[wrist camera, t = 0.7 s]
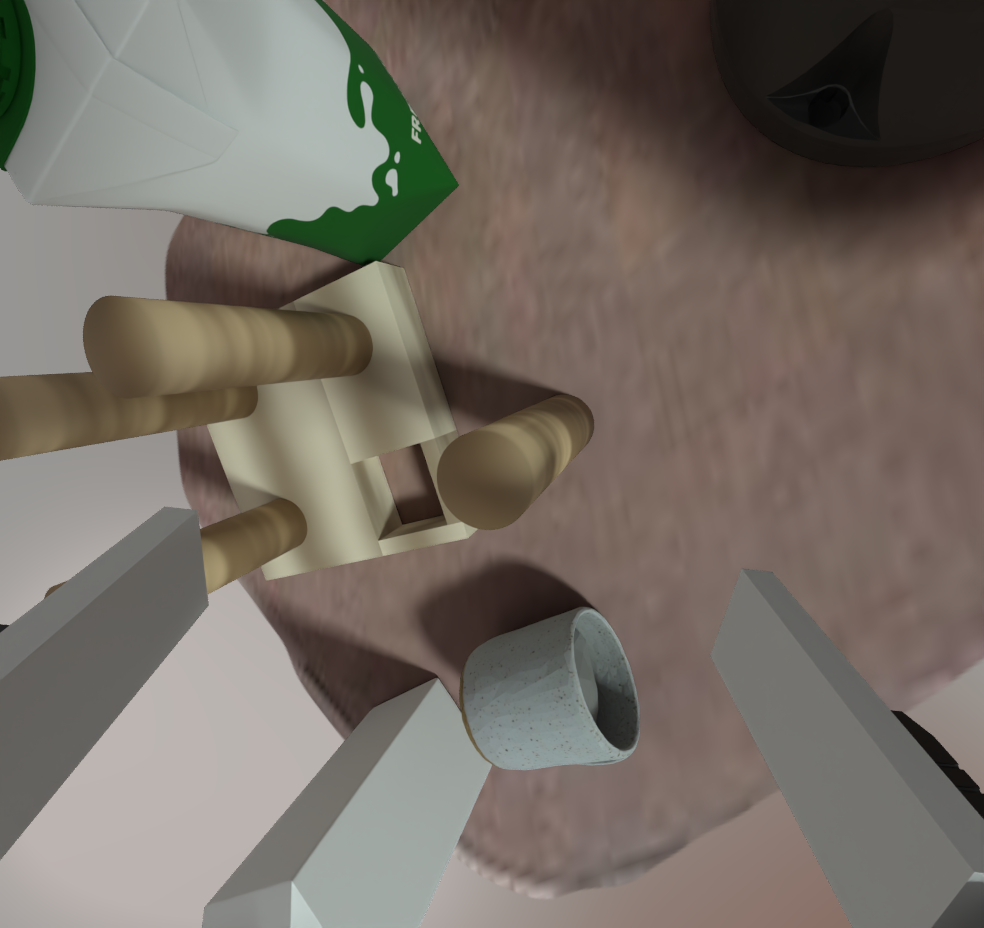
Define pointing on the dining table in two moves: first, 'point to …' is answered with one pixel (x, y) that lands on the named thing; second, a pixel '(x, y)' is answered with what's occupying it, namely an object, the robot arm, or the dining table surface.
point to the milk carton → (365, 826)
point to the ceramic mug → (551, 695)
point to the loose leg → (511, 461)
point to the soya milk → (215, 119)
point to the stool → (264, 414)
